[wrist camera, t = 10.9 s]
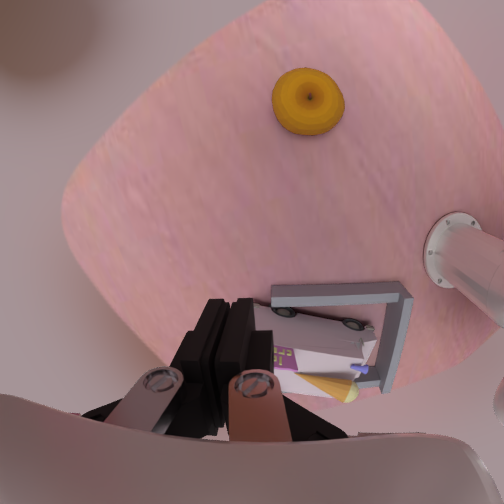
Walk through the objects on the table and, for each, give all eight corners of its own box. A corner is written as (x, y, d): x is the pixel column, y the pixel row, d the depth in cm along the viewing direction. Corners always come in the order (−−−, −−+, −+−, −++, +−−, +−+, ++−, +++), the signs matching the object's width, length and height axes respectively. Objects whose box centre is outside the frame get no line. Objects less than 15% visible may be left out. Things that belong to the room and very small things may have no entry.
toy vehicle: (351, 361, 47) (371, 424, 33) (240, 341, 48) (228, 407, 33) (371, 316, 45) (403, 375, 30) (252, 292, 45) (243, 351, 30)
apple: (346, 101, 35) (364, 88, 27) (315, 151, 38) (326, 148, 30) (292, 69, 35) (296, 46, 26) (260, 118, 37) (256, 106, 29)
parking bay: (398, 281, 42) (413, 298, 37) (380, 371, 48) (389, 392, 42) (271, 285, 44) (271, 304, 38) (272, 377, 49) (271, 401, 44)
